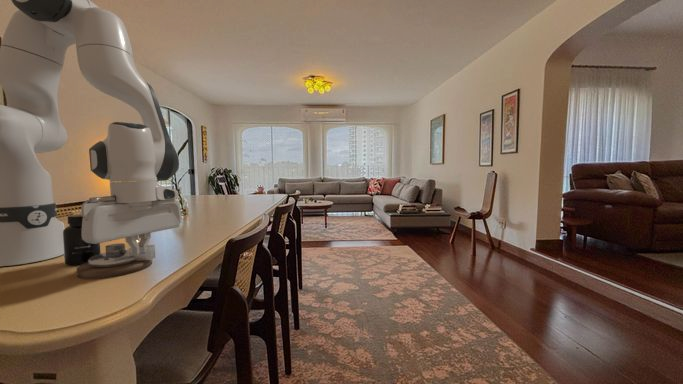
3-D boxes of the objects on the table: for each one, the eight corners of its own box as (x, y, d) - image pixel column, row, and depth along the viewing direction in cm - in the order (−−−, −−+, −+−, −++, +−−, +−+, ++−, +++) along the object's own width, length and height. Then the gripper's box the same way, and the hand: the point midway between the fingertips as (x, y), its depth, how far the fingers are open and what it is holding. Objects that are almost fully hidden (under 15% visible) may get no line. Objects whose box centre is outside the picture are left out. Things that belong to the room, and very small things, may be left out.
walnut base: (62, 274, 65) (60, 250, 65) (128, 256, 78) (126, 236, 78) (102, 282, 60) (100, 256, 60) (165, 262, 73) (164, 240, 73)
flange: (76, 268, 63) (75, 252, 63) (107, 255, 73) (106, 241, 73) (141, 265, 65) (140, 249, 65) (162, 252, 75) (161, 238, 75)
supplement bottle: (80, 267, 70) (75, 217, 69) (57, 265, 71) (53, 217, 70) (108, 258, 77) (104, 213, 76) (87, 257, 78) (83, 212, 77)
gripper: (90, 198, 56) (96, 269, 56) (184, 191, 75) (187, 244, 75) (71, 198, 58) (76, 266, 59) (166, 191, 77) (169, 243, 78)
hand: (139, 254), depth 67 cm, fingers closed
